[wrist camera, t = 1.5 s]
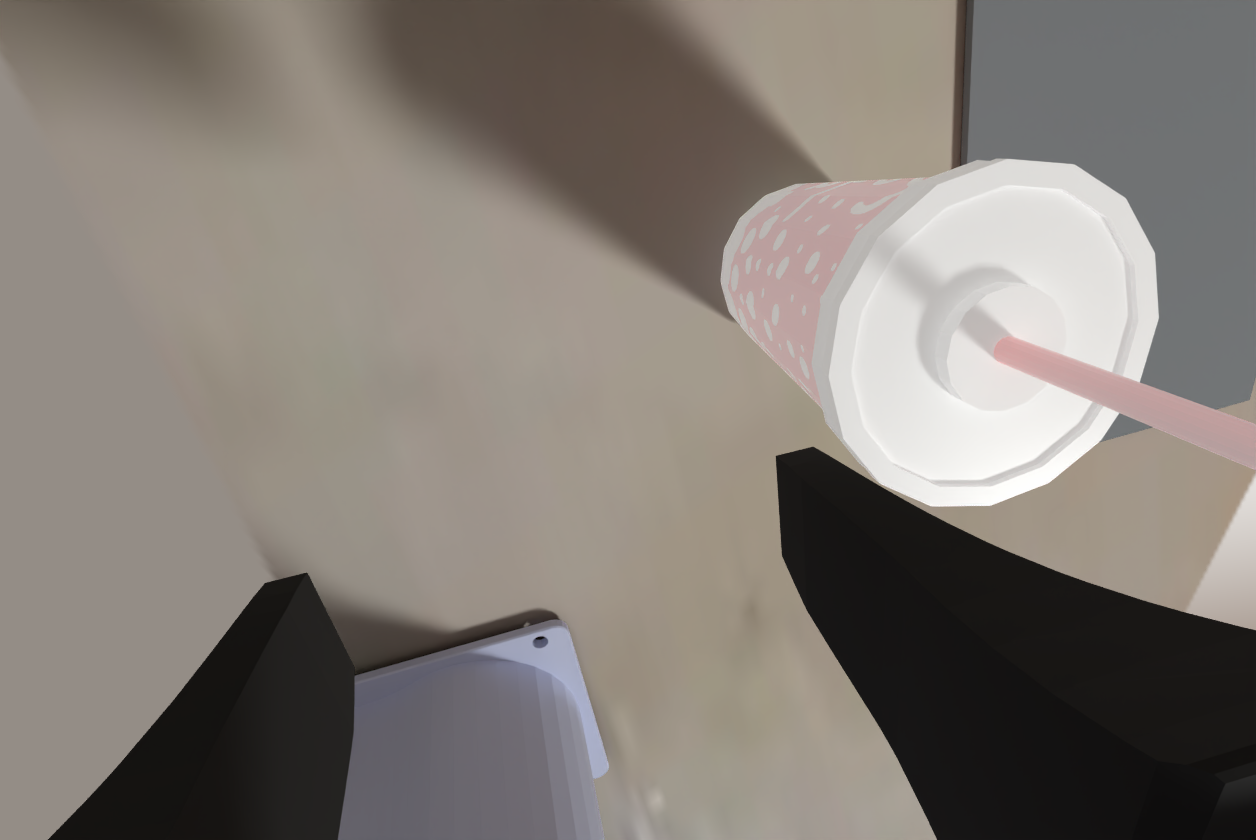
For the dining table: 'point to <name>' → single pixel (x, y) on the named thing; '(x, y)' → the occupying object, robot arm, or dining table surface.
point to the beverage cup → (964, 323)
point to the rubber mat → (1141, 153)
